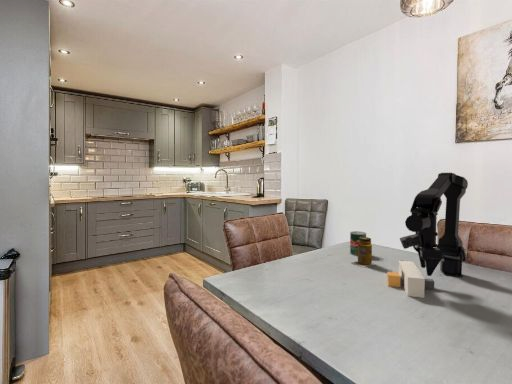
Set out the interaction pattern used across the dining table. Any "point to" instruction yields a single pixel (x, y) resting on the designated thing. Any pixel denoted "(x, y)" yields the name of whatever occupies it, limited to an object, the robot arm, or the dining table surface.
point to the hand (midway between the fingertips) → (425, 271)
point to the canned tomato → (355, 241)
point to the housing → (412, 279)
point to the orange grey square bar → (398, 281)
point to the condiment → (364, 252)
